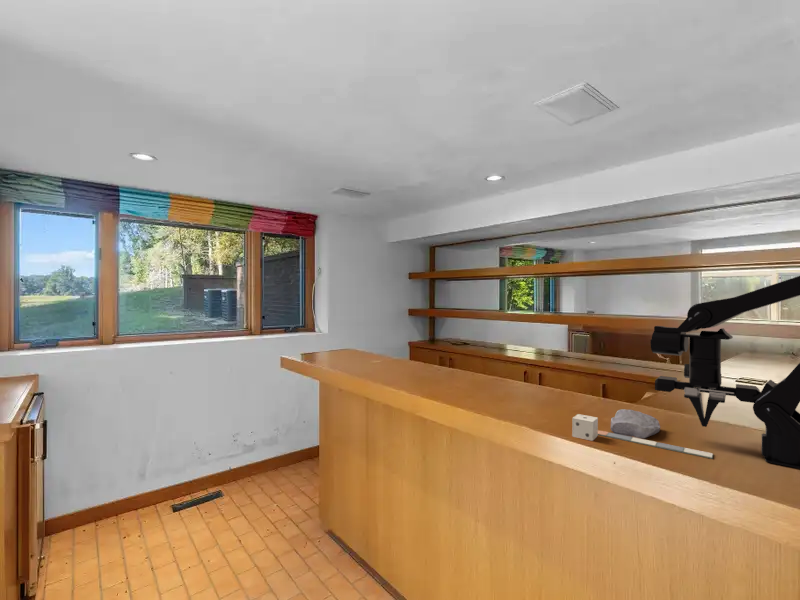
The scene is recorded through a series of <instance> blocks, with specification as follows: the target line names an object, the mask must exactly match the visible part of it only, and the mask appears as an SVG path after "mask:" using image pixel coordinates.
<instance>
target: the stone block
mask: <svg viewBox="0 0 800 600" xmlns="http://www.w3.org/2000/svg"><path fill="white" fill-rule="evenodd" d="M611 431H612V433H615V434H620V435H625V436H630V437H635V438H639V439H644V440H645V439H647V438H649V437H650V436H654V435H656V434H658V433H659V432H660V431H661V425H660V421H659V420H658V419H657V418H656V417H654V416H652V415H650V414H646V413H643V412H641V411H638V410H633V409H624V408H623V409H618V410H617V411H616V413H615V415H614V417H611V419H610V432H611Z"/></svg>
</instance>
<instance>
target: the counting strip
mask: <svg viewBox="0 0 800 600" xmlns="http://www.w3.org/2000/svg"><path fill="white" fill-rule="evenodd" d="M598 436H602V437H606V438H611V439H617V440H621V441H624V442H625V441H626V442H629V443H634V444H639V445H645V446H649V447H653V448H657V449H665V450H667V451H668V450H669V451H673V452H678V453H683V454H687V455H691V456H695V457H696V456H698V457H701V458H707V459H711V460H714V459H713V458H714V453H712V452H708V451H702V450H698V449H693V448H689V447H688V448H687V447H684V446H683V447H682V446H678V445H672V444H668V443H663V442H658V441H654V440H648V439H645V438H644V439H642V438H637V437H633V436H627V435H621V434H615V433H613V432H609V431H605V430H599V429H598Z"/></svg>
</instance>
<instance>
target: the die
mask: <svg viewBox="0 0 800 600" xmlns="http://www.w3.org/2000/svg"><path fill="white" fill-rule="evenodd" d="M571 419H572V421H571V422H572V423H571V424H572V426H571V427H572V430H571V432H572V433H571V437H573V438H578V439H582V440H587V441H591V442H593V441H594V440H595V439H596V438H598V436H599V435H598V430H599V422H598V421H599V417H596V416H591V415H586V414H585V415H584V414H580V413H577V414H576V415H575V416H573V417H572V418H571Z"/></svg>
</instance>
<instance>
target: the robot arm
mask: <svg viewBox="0 0 800 600" xmlns="http://www.w3.org/2000/svg"><path fill="white" fill-rule="evenodd" d="M796 297H800V275H798V276H794V277H792V278H788V279H786V280H783V281H780V282H777V283H774V284H771V285H767V286H765V287H762V288H758V289H755V290H752V291H749V292H746V293H744V294H741V295H737V296H734V297H729V298H722V299H716V300H712V301H704V302H699V303H698V302H697V303H695V304H694V305H692V306H690V307H689V309H688V311H687V314H686V316H687V317H686V319H685V320H684V321H683V322H682V323H681V324H680V325H679V326H678V327H673V326H672V327H671V326H664V325H655V326H654V328H653V329H654V330H653V332H652V335H651V339H650V350H651V352H652V353H653V354H657V355H658V354H659V355H660V354H662V355H668V356H669V355H670V356H682V354H683V353H684V352H685V353H687V351H688V349H689V360H688V361H689V362H688V363H685V364H684V366H683V367H684V368H683V376H684V378H687V379H688V381H687V382H686V381H679V380H678V377H673V376H664V375H660V376H659V377H656V378H655V380H654V390H655V391H658V392H666V393H671V392H672V391H674V390H681V391H683V392H684V395H683V398H684V399H689V401H690V402H691V404H692V406H693V408H694V409H695V413H696V414H697V417H698V419H699V422H700V425H701V426H702V427H705V428H707V427H708V424H709V421H710V419H711V418H712V414H713V412H714V411H715V409H716V408H717V407H718V405H719V404H721V403H722V404H725V403H726V396H730V397H735V398H737V400H738V401H740V402H742V403H743V402H744V403H752V410H753V413H754V415H755V417H756V418H757V419H759V420H760V421H761V422H762V423H763V424H764V425H765V433H764V432H763V433H761V446H760V447H761V448H760V449H761V450H760V453H761V456H762V457H763V458H764V460H765V462H767V463H770V464H775V465H780V466H784V467H790V468H794V469H799V470H800V412H799V411H798V410H797V407H798V405H799V404H800V362H799V363H798V364H797V365H796V366H795V367H794V368H793V370H792V371H791V372H790V373H789V374H788V375H787V376H786V377H785V378H783V379H782V380H780V381H779V382H778V383H776V382H775V381H773V380H772V379H769V380H768V381H767V382H766V383H765V384H764V386H763V388H762V389H761V391H760V388H759V387H758V386H755V385H748V384H739V383H738V384H737V383H736V384H735V387H731V386H724V385H723V386H722V361H721V360H722V351H721V350H722V340H724V341H725V340H728V341H729V340H731V339H733V335H731V334H730V333H729V332H727V330H726V329H725V328H722V327H721V328H719V329H718V330H717V331H712V330H701V329H710V328H715V327H717V326H719V325H721V324H724V323H727V322H729V321H730V320H732V319H734V318H736V317H738V316H740V315H743V314H744V313H747V312H750V311H753V310H757V309H760V308H761V309H762V308H763V307H767V306H771V305H773V304H777V303H780V302H784V301H786V300H790V299H793V298H796ZM699 330H701V331H700V333H699V334H692V332H695V331H699ZM690 332H691V334H690ZM687 333H688V334H687ZM702 393H707V394H708V398H707V402H706V407H705V413H704V406H703V397H702Z"/></svg>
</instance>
